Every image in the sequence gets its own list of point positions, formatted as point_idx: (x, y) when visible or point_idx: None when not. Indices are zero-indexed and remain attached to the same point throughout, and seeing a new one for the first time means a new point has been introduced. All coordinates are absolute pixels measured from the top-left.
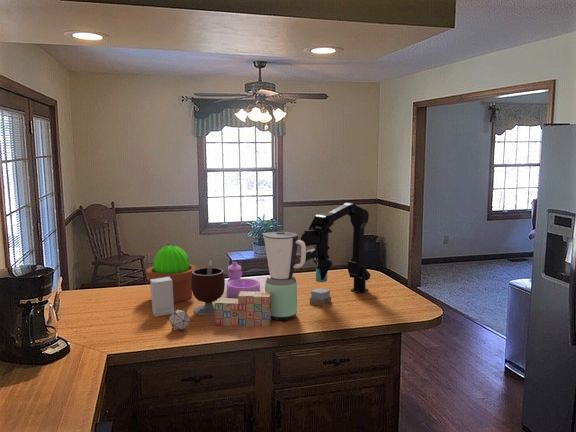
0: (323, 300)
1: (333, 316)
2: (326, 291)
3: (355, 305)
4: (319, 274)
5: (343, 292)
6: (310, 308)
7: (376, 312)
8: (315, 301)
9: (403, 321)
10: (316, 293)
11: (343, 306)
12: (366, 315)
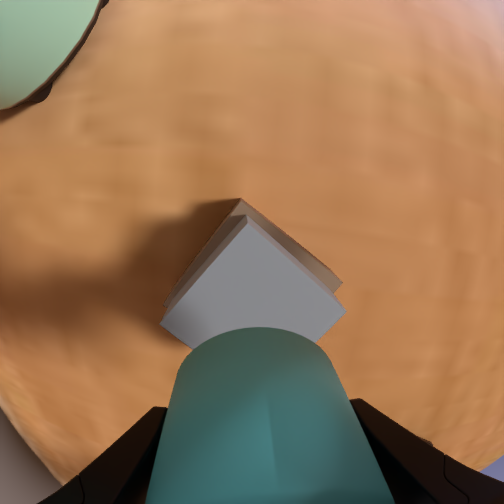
0: (165, 304)
1: (26, 307)
2: None
3: None
4: (157, 452)
5: (404, 408)
6: (130, 192)
7: None
8: (207, 243)
9: (59, 477)
10: (203, 270)
11: None
12: (72, 429)
